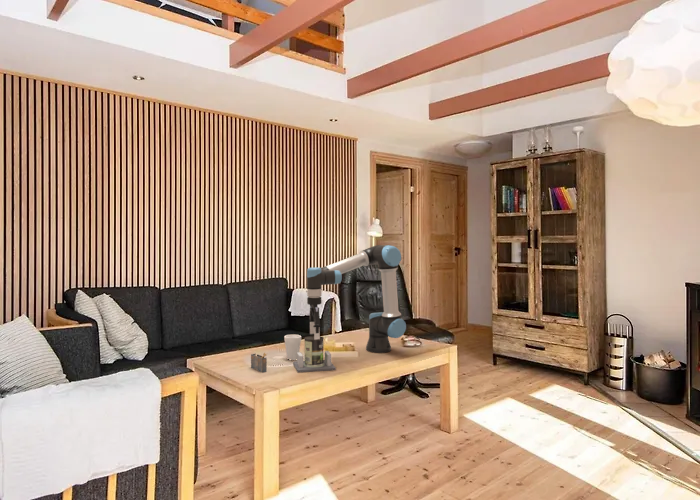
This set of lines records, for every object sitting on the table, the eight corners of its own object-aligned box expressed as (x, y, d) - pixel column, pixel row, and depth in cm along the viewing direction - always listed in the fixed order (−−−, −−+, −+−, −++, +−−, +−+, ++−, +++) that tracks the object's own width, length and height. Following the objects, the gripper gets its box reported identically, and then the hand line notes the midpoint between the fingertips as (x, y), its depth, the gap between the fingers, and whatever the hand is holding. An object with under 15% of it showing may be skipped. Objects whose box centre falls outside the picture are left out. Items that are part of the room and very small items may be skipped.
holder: (329, 361, 266) (329, 348, 266) (335, 370, 250) (335, 356, 250) (293, 363, 262) (293, 350, 261) (297, 372, 245) (297, 358, 245)
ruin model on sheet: (267, 372, 247) (267, 353, 247) (262, 373, 245) (262, 354, 245) (256, 367, 255) (256, 349, 255) (251, 368, 253) (251, 350, 253)
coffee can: (325, 362, 260) (325, 336, 260) (320, 367, 250) (320, 340, 249) (307, 360, 262) (307, 335, 262) (301, 365, 252) (301, 339, 252)
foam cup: (286, 356, 277) (286, 334, 276) (302, 357, 276) (302, 334, 275) (282, 360, 267) (282, 337, 267) (298, 361, 266) (299, 338, 266)
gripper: (303, 294, 266) (304, 332, 267) (311, 300, 242) (311, 342, 242) (317, 293, 268) (317, 331, 268) (325, 299, 243) (326, 341, 244)
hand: (314, 336), depth 255 cm, fingers open, 13 cm apart
